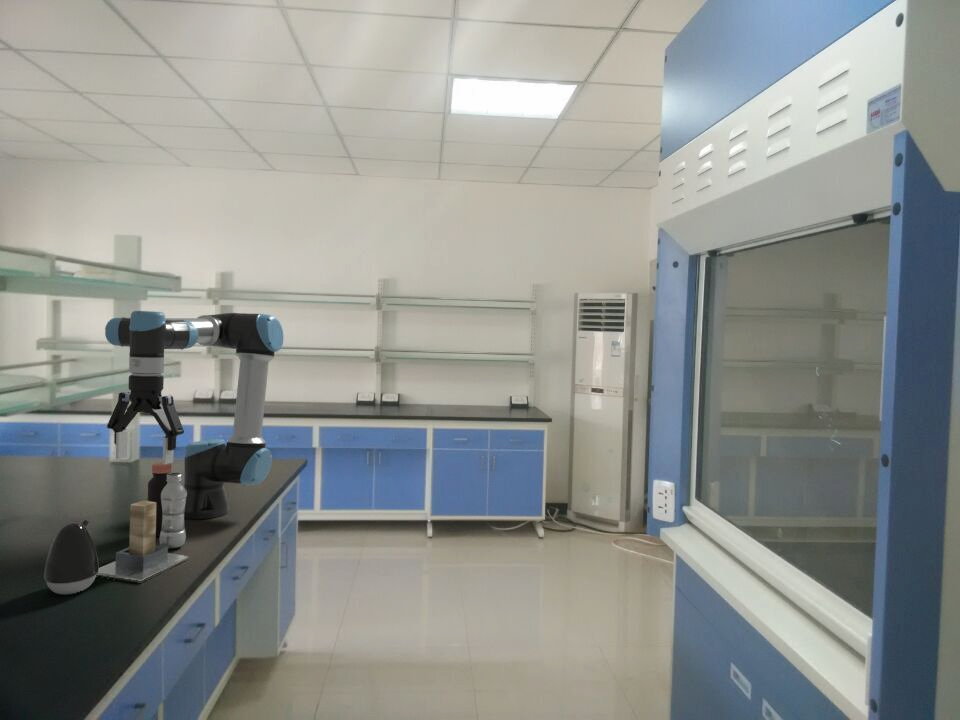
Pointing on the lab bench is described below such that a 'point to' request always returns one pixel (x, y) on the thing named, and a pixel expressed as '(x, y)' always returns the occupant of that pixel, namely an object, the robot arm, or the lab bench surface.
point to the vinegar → (158, 490)
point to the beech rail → (142, 527)
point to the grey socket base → (140, 564)
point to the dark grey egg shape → (71, 560)
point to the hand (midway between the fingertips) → (144, 460)
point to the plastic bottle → (173, 512)
